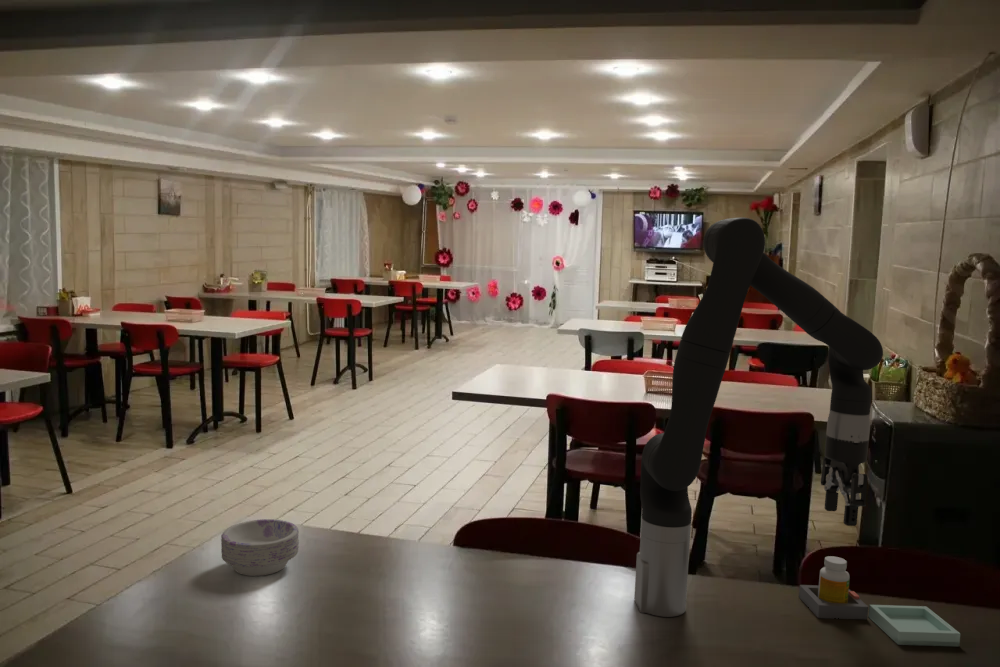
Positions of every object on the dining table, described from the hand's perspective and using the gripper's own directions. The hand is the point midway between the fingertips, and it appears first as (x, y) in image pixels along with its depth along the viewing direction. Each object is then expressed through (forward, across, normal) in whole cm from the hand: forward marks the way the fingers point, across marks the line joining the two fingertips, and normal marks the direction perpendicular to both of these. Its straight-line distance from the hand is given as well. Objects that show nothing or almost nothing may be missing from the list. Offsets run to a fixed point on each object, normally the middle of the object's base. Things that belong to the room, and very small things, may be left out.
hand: (839, 517), depth 154 cm
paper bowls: (+19, -11, -114) cm, 116 cm away
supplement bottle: (+18, 0, 0) cm, 18 cm away
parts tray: (+18, +9, +11) cm, 23 cm away
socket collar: (+18, 0, 0) cm, 18 cm away
